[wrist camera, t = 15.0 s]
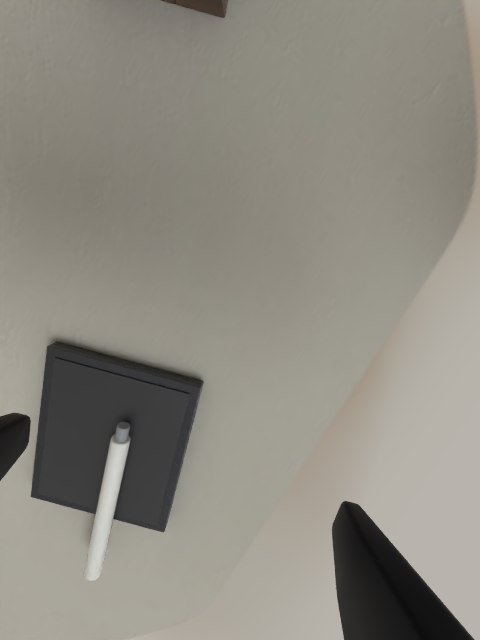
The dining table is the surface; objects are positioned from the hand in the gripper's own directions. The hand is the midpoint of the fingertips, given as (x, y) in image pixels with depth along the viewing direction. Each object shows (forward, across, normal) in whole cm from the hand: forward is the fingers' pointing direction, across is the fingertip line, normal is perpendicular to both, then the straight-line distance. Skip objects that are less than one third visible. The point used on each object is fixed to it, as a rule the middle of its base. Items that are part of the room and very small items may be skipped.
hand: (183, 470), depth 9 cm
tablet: (+12, +6, +9) cm, 16 cm away
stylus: (+10, +5, +7) cm, 13 cm away
